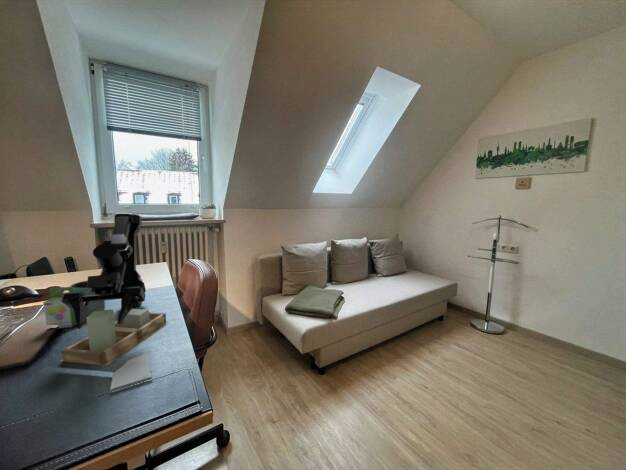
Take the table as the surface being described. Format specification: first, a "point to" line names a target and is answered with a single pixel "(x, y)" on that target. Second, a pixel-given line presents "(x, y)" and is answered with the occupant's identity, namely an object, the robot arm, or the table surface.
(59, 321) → the ink box
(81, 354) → the oak housing tray
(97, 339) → the green block
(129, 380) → the hard drive
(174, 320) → the table surface
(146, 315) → the grey jaw block
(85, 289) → the dark green round bin
